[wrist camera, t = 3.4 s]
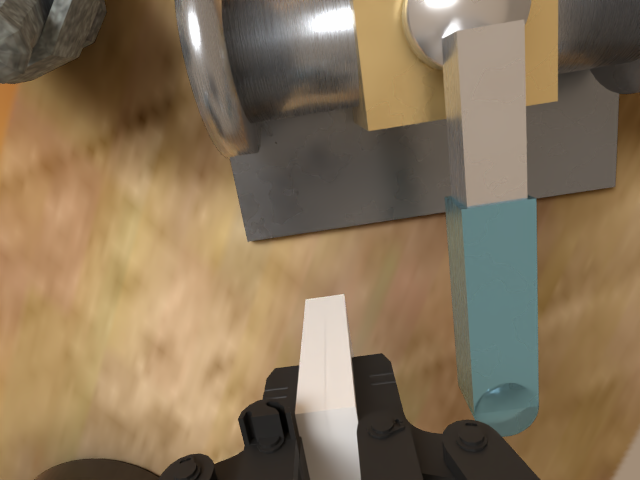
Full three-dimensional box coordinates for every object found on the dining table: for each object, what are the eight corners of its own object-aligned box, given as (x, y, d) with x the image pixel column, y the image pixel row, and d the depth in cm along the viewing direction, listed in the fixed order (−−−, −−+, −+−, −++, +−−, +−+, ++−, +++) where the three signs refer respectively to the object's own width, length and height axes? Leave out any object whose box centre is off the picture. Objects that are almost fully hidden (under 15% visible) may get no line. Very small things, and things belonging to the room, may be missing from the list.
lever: (435, 391, 23) (456, 442, 19) (396, -42, 17) (415, -78, 13) (522, 380, 22) (558, 429, 19) (512, -62, 17) (561, -105, 13)
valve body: (249, 238, 30) (217, 298, 21) (197, -6, 26) (128, -67, 16) (609, 185, 29) (743, 223, 20) (619, -81, 24) (798, -191, 15)
